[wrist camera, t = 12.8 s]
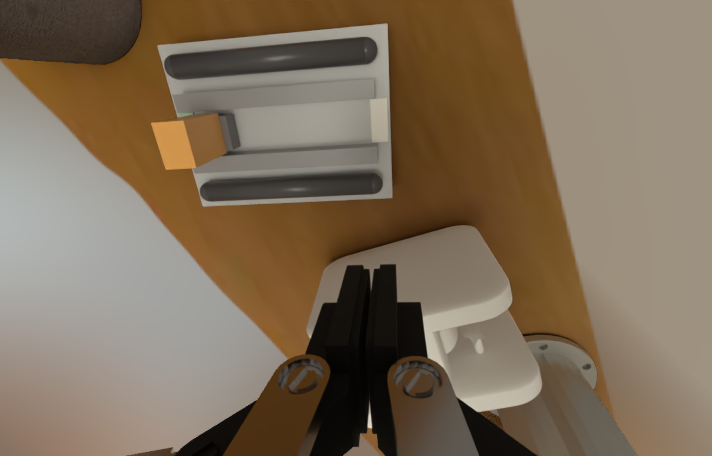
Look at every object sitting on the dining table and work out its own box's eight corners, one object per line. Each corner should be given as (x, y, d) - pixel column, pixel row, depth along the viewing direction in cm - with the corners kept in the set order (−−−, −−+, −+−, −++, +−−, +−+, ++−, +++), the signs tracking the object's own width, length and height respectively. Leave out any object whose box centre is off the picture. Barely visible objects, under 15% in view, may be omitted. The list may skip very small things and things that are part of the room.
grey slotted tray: (391, 186, 29) (392, 205, 25) (218, 195, 31) (192, 213, 26) (386, 29, 24) (387, 19, 20) (181, 48, 26) (142, 43, 21)
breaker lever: (241, 148, 25) (203, 167, 20) (204, 151, 26) (158, 170, 20) (232, 110, 24) (191, 119, 19) (194, 113, 25) (143, 123, 19)
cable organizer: (479, 213, 30) (533, 287, 19) (499, 304, 33) (554, 408, 23) (326, 256, 33) (299, 342, 22) (361, 335, 36) (353, 440, 26)
